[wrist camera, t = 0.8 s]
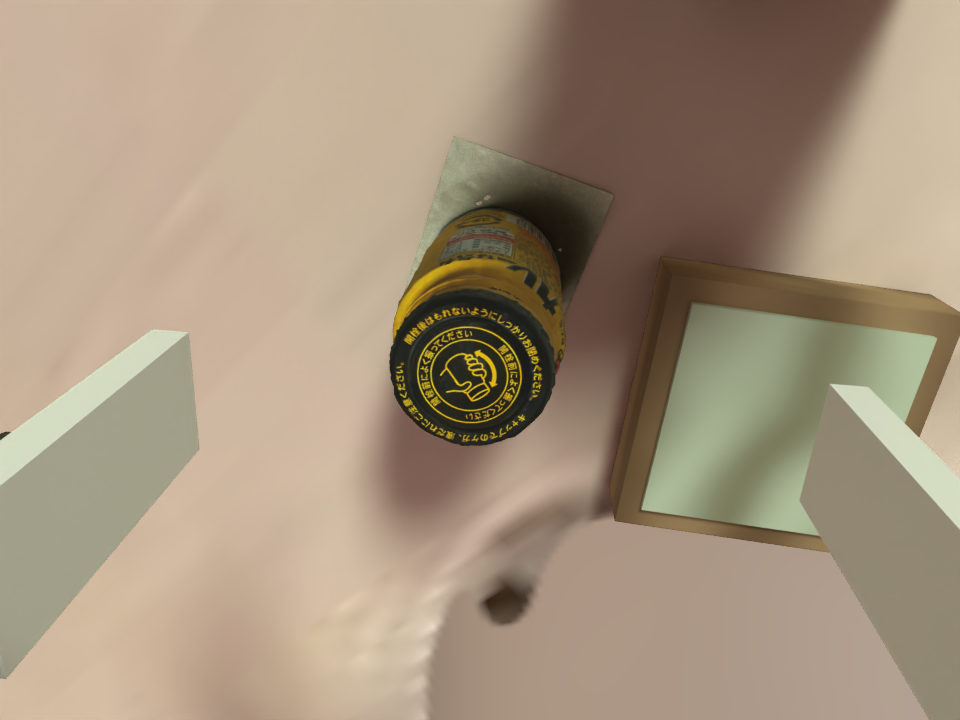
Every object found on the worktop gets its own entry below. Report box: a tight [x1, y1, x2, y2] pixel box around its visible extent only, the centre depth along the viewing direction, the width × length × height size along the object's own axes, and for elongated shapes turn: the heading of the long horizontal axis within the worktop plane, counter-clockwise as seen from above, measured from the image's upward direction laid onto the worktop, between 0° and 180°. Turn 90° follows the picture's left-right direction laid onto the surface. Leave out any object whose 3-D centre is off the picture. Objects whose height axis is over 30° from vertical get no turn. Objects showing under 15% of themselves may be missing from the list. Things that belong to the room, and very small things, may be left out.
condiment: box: [389, 136, 614, 446], centre depth 28 cm, size 7×8×12 cm
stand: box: [609, 257, 960, 552], centre depth 34 cm, size 12×12×3 cm
